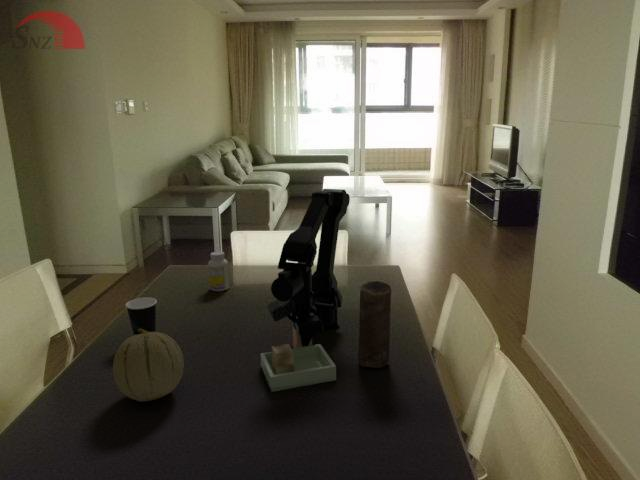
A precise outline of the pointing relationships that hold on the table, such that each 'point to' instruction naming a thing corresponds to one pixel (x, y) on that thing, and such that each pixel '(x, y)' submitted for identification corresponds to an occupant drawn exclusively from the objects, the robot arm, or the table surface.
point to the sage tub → (300, 368)
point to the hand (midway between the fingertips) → (302, 344)
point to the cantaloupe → (148, 366)
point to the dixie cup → (142, 314)
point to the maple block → (282, 359)
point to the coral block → (298, 339)
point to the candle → (374, 324)
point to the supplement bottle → (218, 272)
